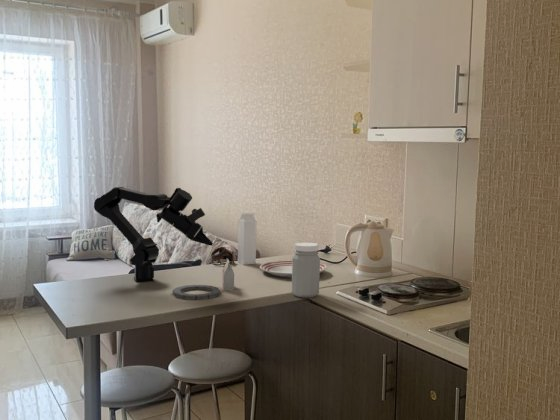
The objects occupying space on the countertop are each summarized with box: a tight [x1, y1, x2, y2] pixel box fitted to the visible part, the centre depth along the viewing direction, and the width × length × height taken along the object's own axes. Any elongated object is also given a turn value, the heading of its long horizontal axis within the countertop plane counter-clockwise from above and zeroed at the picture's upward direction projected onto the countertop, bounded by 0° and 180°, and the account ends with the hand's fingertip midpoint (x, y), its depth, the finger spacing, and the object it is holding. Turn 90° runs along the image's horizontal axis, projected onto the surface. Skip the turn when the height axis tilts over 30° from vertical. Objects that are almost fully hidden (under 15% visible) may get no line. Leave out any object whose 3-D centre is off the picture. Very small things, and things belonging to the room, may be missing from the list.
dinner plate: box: [259, 259, 328, 279], centre depth 246 cm, size 27×27×3 cm
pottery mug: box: [210, 246, 235, 265], centre depth 263 cm, size 12×10×8 cm
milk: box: [237, 212, 257, 266], centre depth 262 cm, size 6×6×22 cm
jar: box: [291, 241, 321, 299], centre depth 210 cm, size 10×10×18 cm
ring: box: [172, 284, 221, 301], centre depth 208 cm, size 16×16×1 cm
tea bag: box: [221, 258, 235, 291], centre depth 217 cm, size 4×7×10 cm, turn 9°
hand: (211, 244), depth 222 cm, fingers open, 9 cm apart
